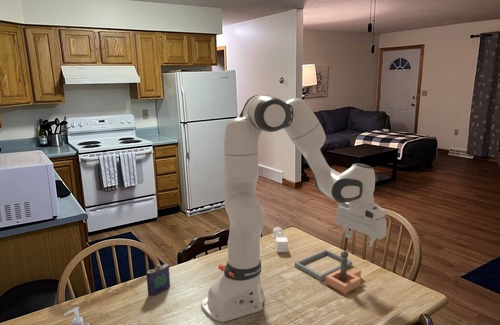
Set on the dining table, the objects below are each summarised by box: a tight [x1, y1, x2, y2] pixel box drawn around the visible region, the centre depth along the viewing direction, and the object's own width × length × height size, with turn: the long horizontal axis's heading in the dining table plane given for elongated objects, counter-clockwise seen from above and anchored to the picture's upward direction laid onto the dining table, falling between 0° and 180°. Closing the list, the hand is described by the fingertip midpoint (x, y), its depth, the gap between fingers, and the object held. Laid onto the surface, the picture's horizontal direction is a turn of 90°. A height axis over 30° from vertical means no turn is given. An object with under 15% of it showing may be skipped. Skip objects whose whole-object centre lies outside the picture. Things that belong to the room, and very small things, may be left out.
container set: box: [272, 226, 289, 253], centre depth 173 cm, size 20×5×6 cm, turn 2°
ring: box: [325, 267, 362, 294], centre depth 137 cm, size 14×9×3 cm, turn 127°
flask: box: [145, 263, 171, 297], centre depth 134 cm, size 9×3×11 cm, turn 138°
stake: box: [319, 250, 367, 298], centre depth 134 cm, size 12×12×15 cm
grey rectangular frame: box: [294, 249, 353, 281], centre depth 150 cm, size 19×14×3 cm
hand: (358, 241), depth 137 cm, fingers open, 8 cm apart
